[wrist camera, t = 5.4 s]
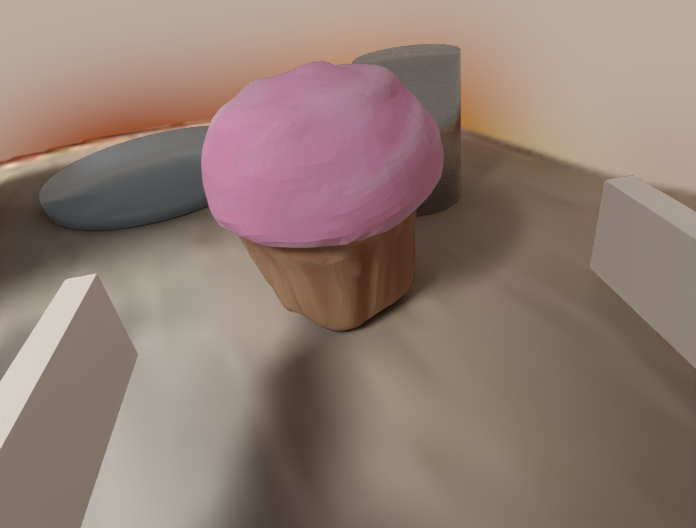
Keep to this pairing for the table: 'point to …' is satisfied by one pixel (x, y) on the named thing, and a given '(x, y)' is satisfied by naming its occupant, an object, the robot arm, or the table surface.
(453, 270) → the table surface
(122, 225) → the plate
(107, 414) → the robot arm
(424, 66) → the metal tin
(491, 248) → the table surface
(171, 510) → the table surface
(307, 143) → the cupcake
